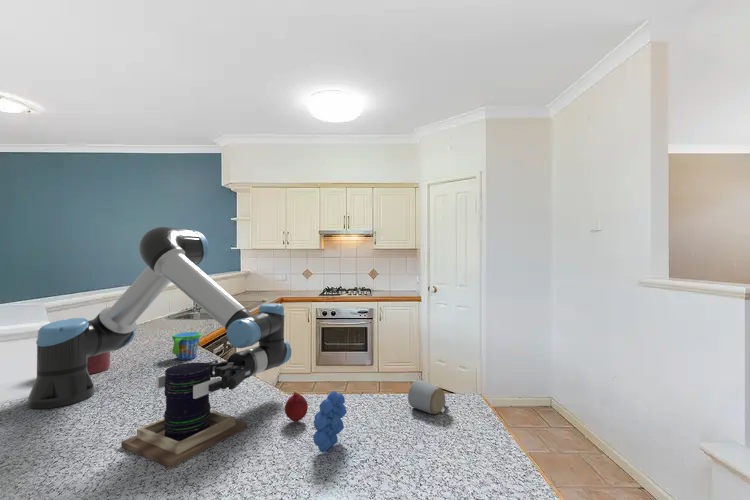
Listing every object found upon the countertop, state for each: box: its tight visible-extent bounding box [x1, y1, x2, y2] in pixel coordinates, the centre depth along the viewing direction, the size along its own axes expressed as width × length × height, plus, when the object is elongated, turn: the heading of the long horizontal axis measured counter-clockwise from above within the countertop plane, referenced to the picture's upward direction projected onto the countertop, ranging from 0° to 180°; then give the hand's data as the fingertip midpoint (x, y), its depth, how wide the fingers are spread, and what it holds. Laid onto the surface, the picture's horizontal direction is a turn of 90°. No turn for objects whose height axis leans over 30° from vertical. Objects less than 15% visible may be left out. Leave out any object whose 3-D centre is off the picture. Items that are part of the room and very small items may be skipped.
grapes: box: [312, 390, 348, 453], centre depth 82 cm, size 12×7×12 cm, turn 154°
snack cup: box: [171, 331, 202, 361], centre depth 154 cm, size 16×10×10 cm
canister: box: [87, 351, 112, 375], centre depth 137 cm, size 13×13×18 cm
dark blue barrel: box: [163, 362, 212, 441], centre depth 87 cm, size 10×10×15 cm
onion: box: [284, 390, 309, 423], centre depth 94 cm, size 6×6×8 cm
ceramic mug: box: [407, 379, 447, 415], centre depth 102 cm, size 11×8×8 cm
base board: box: [120, 409, 249, 469], centre depth 86 cm, size 18×20×3 cm
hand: (175, 387), depth 84 cm, fingers open, 13 cm apart
